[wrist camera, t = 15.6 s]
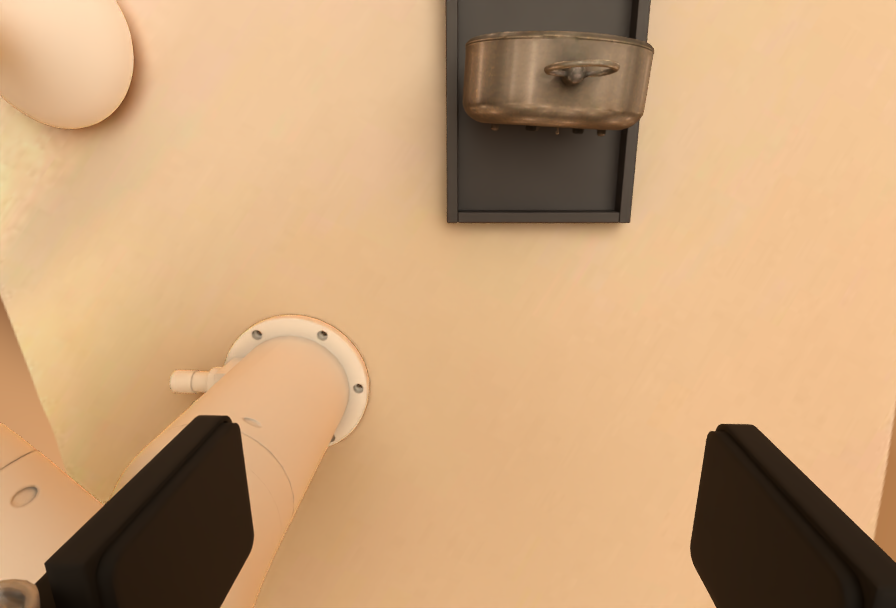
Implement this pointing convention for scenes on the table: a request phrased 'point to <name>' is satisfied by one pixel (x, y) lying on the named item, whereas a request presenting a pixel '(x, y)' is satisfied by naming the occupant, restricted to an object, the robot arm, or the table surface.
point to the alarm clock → (556, 80)
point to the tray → (538, 152)
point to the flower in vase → (64, 59)
